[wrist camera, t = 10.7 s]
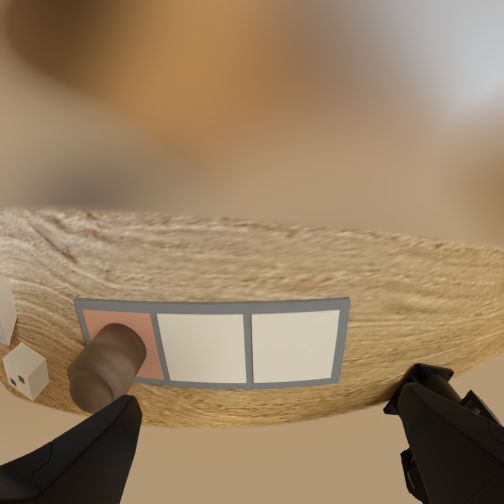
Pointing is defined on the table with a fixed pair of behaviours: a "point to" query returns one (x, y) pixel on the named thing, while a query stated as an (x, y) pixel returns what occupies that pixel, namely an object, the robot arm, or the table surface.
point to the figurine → (6, 311)
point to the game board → (230, 340)
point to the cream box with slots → (26, 371)
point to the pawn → (106, 367)
